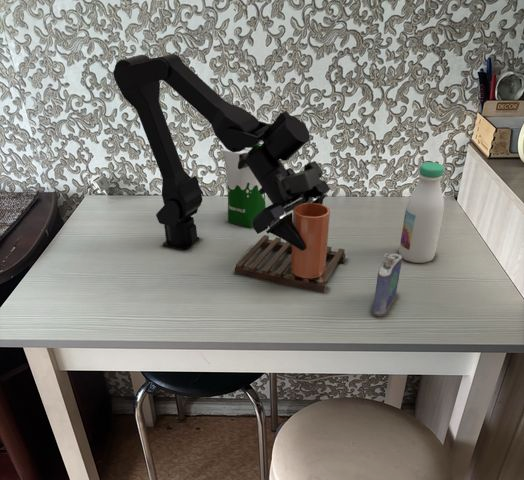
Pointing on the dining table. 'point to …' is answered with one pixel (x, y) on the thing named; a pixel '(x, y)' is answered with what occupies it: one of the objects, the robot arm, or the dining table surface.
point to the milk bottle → (423, 216)
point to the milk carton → (242, 190)
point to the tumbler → (310, 239)
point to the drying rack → (284, 265)
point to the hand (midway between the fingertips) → (315, 242)
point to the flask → (387, 283)
